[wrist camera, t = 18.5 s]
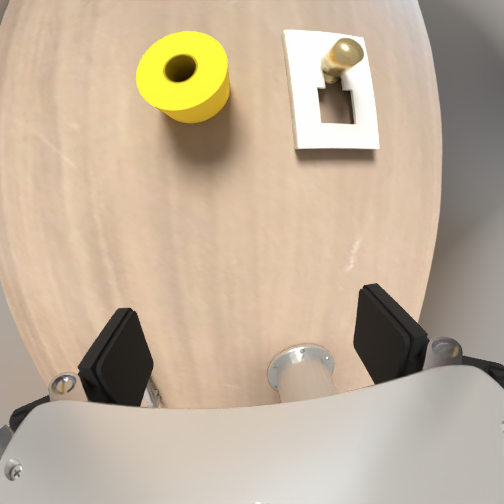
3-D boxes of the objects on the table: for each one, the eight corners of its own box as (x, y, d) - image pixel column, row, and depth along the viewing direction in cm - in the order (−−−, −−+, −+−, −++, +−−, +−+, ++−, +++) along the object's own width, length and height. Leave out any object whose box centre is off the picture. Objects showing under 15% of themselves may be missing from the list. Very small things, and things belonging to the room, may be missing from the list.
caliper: (161, 395, 49) (155, 417, 43) (157, 395, 49) (150, 417, 43) (128, 315, 42) (116, 336, 36) (123, 315, 42) (110, 336, 36)
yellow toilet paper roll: (151, 74, 30) (128, 52, 21) (218, 51, 30) (213, 20, 21) (169, 133, 34) (148, 124, 25) (239, 109, 33) (239, 92, 24)
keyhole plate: (371, 149, 35) (379, 149, 33) (294, 149, 35) (298, 148, 33) (357, 43, 30) (363, 37, 27) (281, 36, 29) (284, 29, 27)
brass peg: (341, 84, 32) (368, 66, 23) (315, 83, 32) (336, 62, 23) (337, 61, 31) (362, 38, 22) (311, 59, 31) (331, 34, 22)
